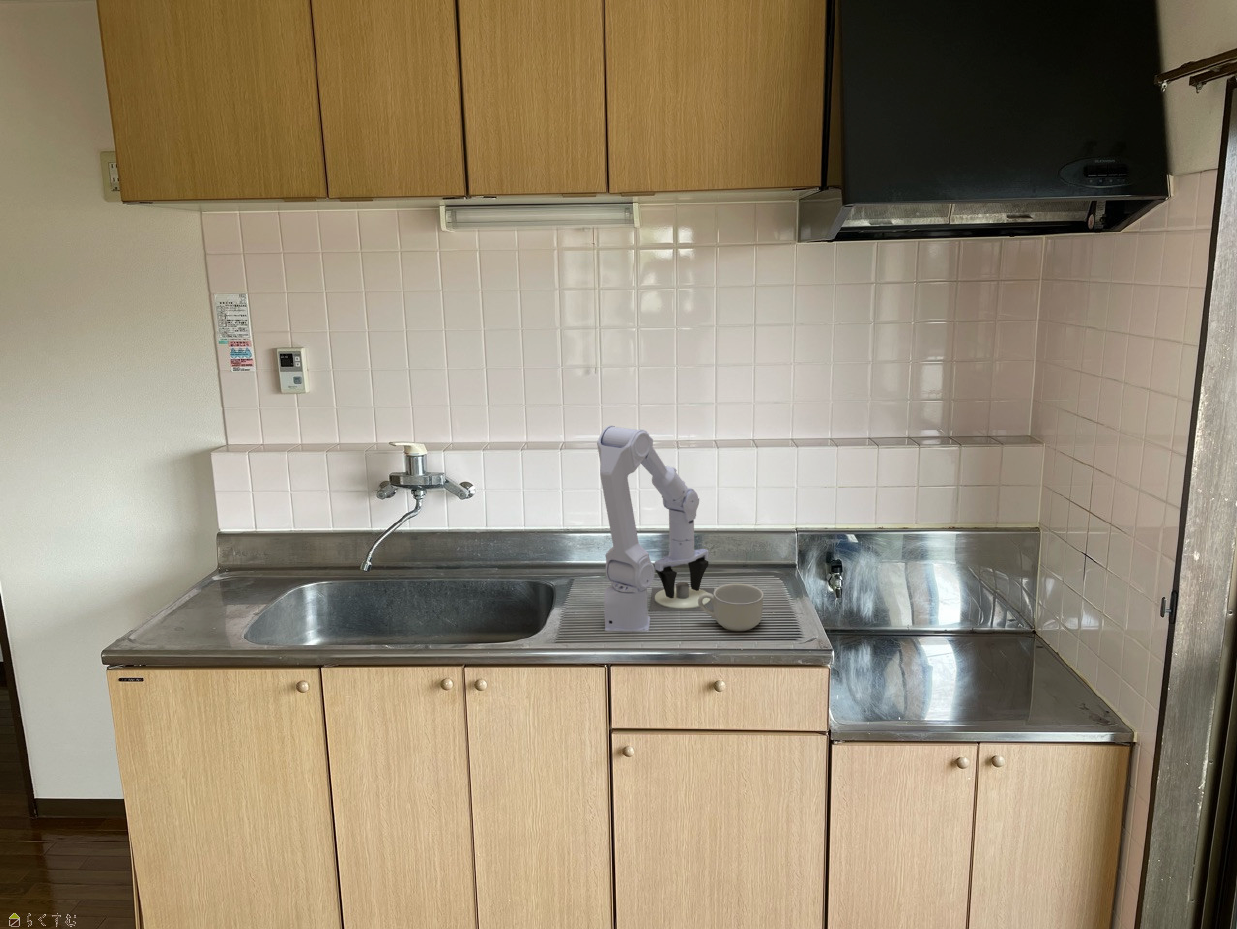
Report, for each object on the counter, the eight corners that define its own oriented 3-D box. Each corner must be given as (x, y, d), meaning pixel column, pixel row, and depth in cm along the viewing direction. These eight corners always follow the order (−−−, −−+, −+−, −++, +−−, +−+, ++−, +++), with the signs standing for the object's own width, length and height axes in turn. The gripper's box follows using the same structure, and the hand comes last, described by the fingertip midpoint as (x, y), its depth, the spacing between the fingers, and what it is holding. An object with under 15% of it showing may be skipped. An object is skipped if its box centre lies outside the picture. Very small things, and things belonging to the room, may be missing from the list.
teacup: (766, 619, 202) (766, 585, 201) (759, 639, 192) (759, 603, 191) (704, 614, 206) (704, 580, 205) (694, 633, 196) (693, 597, 195)
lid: (653, 609, 209) (653, 594, 208) (655, 589, 222) (655, 575, 221) (711, 609, 208) (711, 594, 207) (710, 589, 221) (709, 575, 220)
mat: (649, 612, 208) (649, 610, 208) (652, 589, 223) (652, 587, 223) (715, 612, 207) (715, 611, 207) (714, 589, 222) (714, 587, 221)
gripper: (694, 527, 219) (695, 581, 222) (646, 539, 211) (647, 595, 214) (714, 534, 213) (714, 589, 216) (665, 547, 205) (666, 604, 208)
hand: (682, 593), depth 214 cm, fingers open, 7 cm apart
